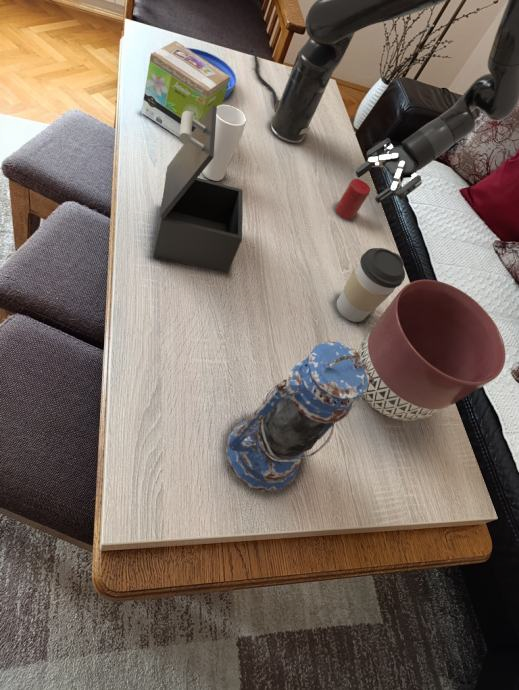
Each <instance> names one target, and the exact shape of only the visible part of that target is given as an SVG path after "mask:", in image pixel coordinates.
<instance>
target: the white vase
mask: <svg viewBox="0 0 519 690" xmlns="http://www.w3.org/2000/svg"><path fill="white" fill-rule="evenodd" d="M246 122H247V118H246V115H245V114H244V112H243V111H242V110H241V109H238V108H237V107H236V106H233V105H229V104H222V105H219V106H217V113H216V128H215V143H214V158H213V159H212V160H211V161H210V163H209V164H208V165H207V166H206V168H205V169H204V170H203V171H202V172H201V174H203V176H204V177H205V178H207V180H209V181H212V182H219V181H222V180H223V179H224V178H225V176H226V173H227V170H228V168H229V166H230V164H231V161H232V159H233V157H234V155H235V152H236V150H237V148H238V146H239V143H240V141H241V139H242V136H243V133H244V130H245V126H246Z"/></svg>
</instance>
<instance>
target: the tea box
mask: <svg viewBox="0 0 519 690" xmlns="http://www.w3.org/2000/svg"><path fill="white" fill-rule="evenodd" d="M187 48H188V47H187V46H184V45H183V44H182V43H180V42H178V41H177V40H174V41H173V42H170V43H169V44H167V45H165V46H163V47H161V48H159V49H157V50H156V51H154V52H151V53H150V56H149V60H148V61H149V62H148V67H147V73H146V74H147V76H146V81H145V87H144V94H143V99H142V100H143V101H142V107H141V114H142V115H144V116H146V117H147V118H149V119H150V120H151V121H154V122H155V123H157V124H158V125H159V126H161V127H162V128H164V129H166V130H167V131H168V132H170V133H171V134H172V135H174V136H176V137H178V138H179V133H180V126H181V118H182V113H183V112H185V111H189V112H191V113H192V114H193V119H195V120H196V121H198V122H199V123H200V122H201V120H202V119H203V118H204V116H205V115H206V114H207V112H208V111H209V110H210V108H211V107H212V106H213V105H214V106H216V107H217V106H219V105H223V103H224V100H225V99H224V97H225V93H226V90H227V86H228V83H229V79H230V76H229V75H227V74H226V73H224V72H223V71H221V70H220V69H218V68H216V67H215V66H213V65H212V64H210V63H209V62H207V61H206V60H204V59H203V58H201V57H200V56H198V55H197V54H195V53H193V52H192V51H190V50H189V49H187ZM195 129H196V127H195V126H194V125H192V131H191V134H192V133H193V131H194V130H195Z"/></svg>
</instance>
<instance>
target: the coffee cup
mask: <svg viewBox="0 0 519 690" xmlns="http://www.w3.org/2000/svg"><path fill="white" fill-rule="evenodd" d="M404 266H405V265H404V260H403V258H402V256H401V255H400V254H399V253H396V252H393V251H391V250H390V249H387V248H383V247H372V248H369V249H367V250H366V251H365V252H364V253H362V255H361V256H360V260H359V262H358V263H357V264H356V266H355V267H354V269H353V271H352V273H351V275H350V276H349V278H348V279H347V281H346V283H345V284H344V288H343V290H342V291H341V293H340V295H339V297H337V300H336V307H337V310H338V312H339V314H340V315H341V316H343V317H344V318H345V319H346V320H348V321H351V322H354V323H360V322H362V321H364V320H365V319H367V317H368V316H369V315H370V314H371V313H372V312H373V311H375V310H376V309H377V308H378V307H379V306H380V305H381V304H383V302H384V301H385V300H386V299H388V297H389V296H391V294H392V293H394V291H395V289H397V288H398V287H400V286H401V285H402V284H403V282H404V281H405V278H406V271H405V268H404Z"/></svg>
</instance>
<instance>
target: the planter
mask: <svg viewBox="0 0 519 690" xmlns="http://www.w3.org/2000/svg"><path fill="white" fill-rule="evenodd" d="M357 353H358V354H359V355H360V357H361V358H362V359H363V360H364V362H365V364H366V366H367V369H368V372H369V376H372V377H373V379H374V384H370V383H369V385H368V386H367V388H366V390H365V392H364V393H363V394H362V395H361V396H362V397H363V399H364V400H365V401H366V402H367V404H368V405H370V407H371V408H372V409H374V410H375V411H377V412H378V413H380V414H382V415H383V416H385V417H388V418H390V419H393V420H398V421H404V422H405V421H406V422H409V421H419V420H423V419H426V418H429V417H432V416H434V415H437V414H438V413H441V412H442V411H444V410H446V409H447V408H449V407H451V406H452V405H454V404H456V403H457V402H459V401H460V400H462V399H464V398H465V397H467V396H469V395H471V394H472V393H474V392H476V391H478V390H479V389H481V388H483V387H484V386H486V385H488V384H489V383H490V382H492V381H493V380H495V379H497V377H498V376H499V375H500V374H501V373H502V371H503V369H504V367H505V363H506V346H505V342H504V339H503V336H502V334H501V332H500V329H499V328H498V326H497V324H496V322H495V321H494V320H493V318H492V317H491V316H490V315H489V313H488V312H487V311H486V309H484V307H483V306H482V305H481V304H479V303H478V302H477V301H476V299H474V298H472V296H470V295H469V294H467V292H464V291H462V290H461V289H459V288H458V287H455V286H453V285H451V284H449V283H446V282H443V281H439V280H434V279H419V280H414V281H411V282H409V283H407V284H406V285H404V286H403V287H402V288H401V289H400V291H399V292H398V293H397V295H396V296H394V298H393V299H392V300H391V302H390V304H388V306H387V308H386V309H385V310H384V312H383V313H382V314H381V316H380V317H379V318H378V319H377V320H376V322H375V323H374V324H373V326H372V327H371V329H370V330H369V332H368V333H367V334H366V336H365V337H364V338H363V340H362V342H361V343H360V346H359V348H358V351H357Z"/></svg>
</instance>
